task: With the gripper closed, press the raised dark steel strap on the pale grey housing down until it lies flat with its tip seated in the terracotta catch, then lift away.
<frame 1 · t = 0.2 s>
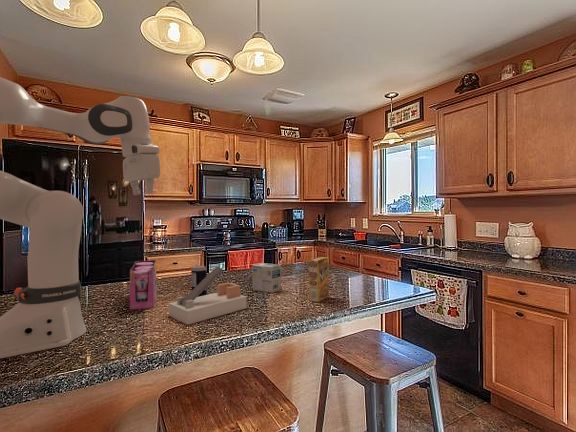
hand: (143, 194, 104), 39 cm above the countertop, tool pointing down, fingers open, 8 cm apart
candy box: (319, 299, 123), on the countertop
strap: (202, 286, 106), point 9 cm above the countertop, hinge at 35.0°
beverage can: (199, 298, 126), on the countertop
housing: (208, 311, 108), on the countertop
light bulb box: (266, 290, 137), on the countertop
gum box: (144, 301, 123), on the countertop
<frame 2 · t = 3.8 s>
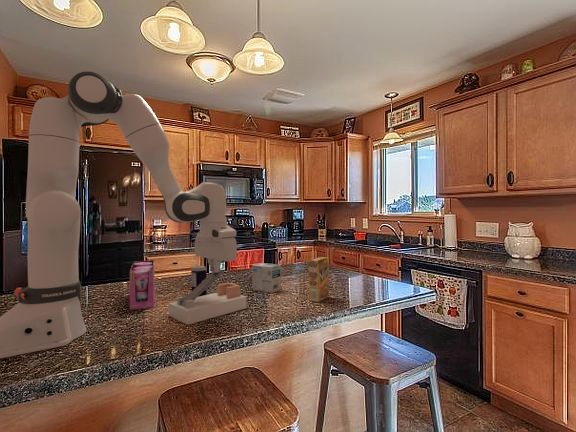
hand: (214, 271, 110), 13 cm above the countertop, tool pointing down, fingers closed, pressing on strap
strap: (202, 286, 106), point 9 cm above the countertop, hinge at 32.9°, touching gripper
everything else where it was.
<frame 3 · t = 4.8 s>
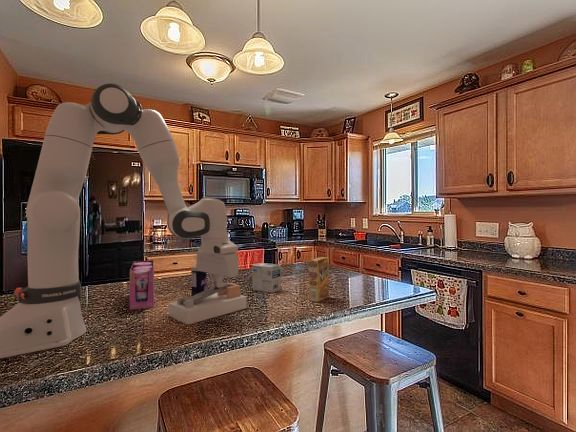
hand: (217, 286, 110), 8 cm above the countertop, tool pointing down, fingers closed, pressing on strap
strap: (206, 293, 107), point 6 cm above the countertop, hinge at 12.0°, touching gripper
everything else where it was.
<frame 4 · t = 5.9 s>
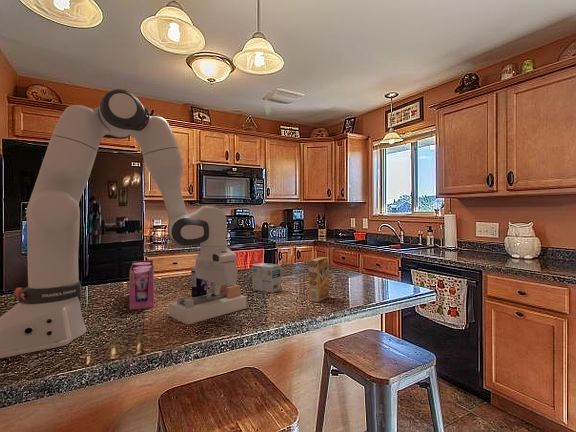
hand: (215, 294, 110), 5 cm above the countertop, tool pointing down, fingers closed, pressing on strap
strap: (206, 298, 108), point 5 cm above the countertop, hinge at 0.6°, touching gripper
everything else where it was.
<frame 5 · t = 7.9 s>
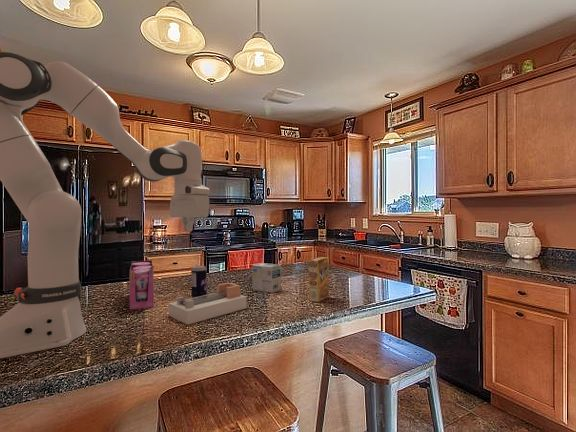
hand: (187, 231, 110), 27 cm above the countertop, tool pointing down, fingers closed
strap: (206, 298, 108), point 5 cm above the countertop, hinge at 0.5°
everything else where it was.
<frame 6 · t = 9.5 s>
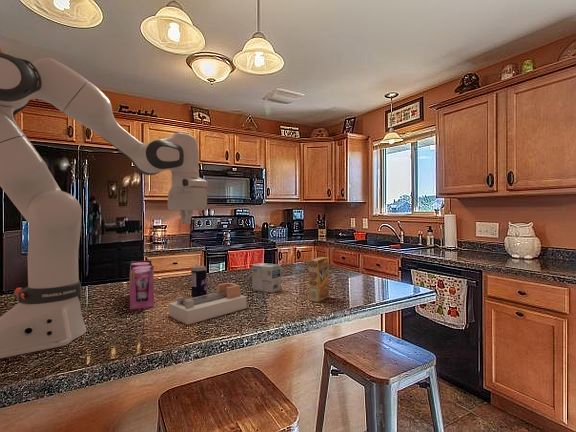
hand: (186, 224, 110), 29 cm above the countertop, tool pointing down, fingers closed
nothing on the countertop moved.
at the end: strap at +0° (first picture: +35°); beverage can moved 0.2 cm from its start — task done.
